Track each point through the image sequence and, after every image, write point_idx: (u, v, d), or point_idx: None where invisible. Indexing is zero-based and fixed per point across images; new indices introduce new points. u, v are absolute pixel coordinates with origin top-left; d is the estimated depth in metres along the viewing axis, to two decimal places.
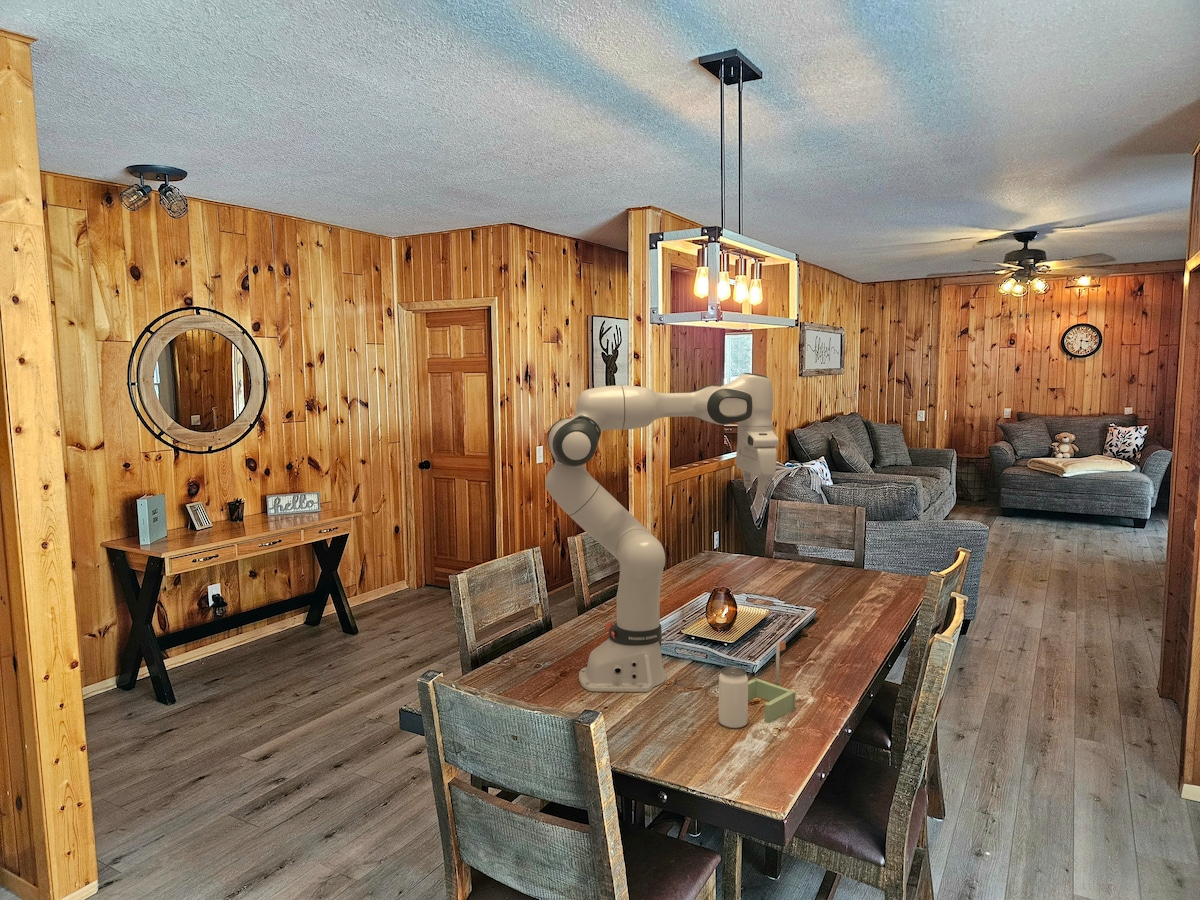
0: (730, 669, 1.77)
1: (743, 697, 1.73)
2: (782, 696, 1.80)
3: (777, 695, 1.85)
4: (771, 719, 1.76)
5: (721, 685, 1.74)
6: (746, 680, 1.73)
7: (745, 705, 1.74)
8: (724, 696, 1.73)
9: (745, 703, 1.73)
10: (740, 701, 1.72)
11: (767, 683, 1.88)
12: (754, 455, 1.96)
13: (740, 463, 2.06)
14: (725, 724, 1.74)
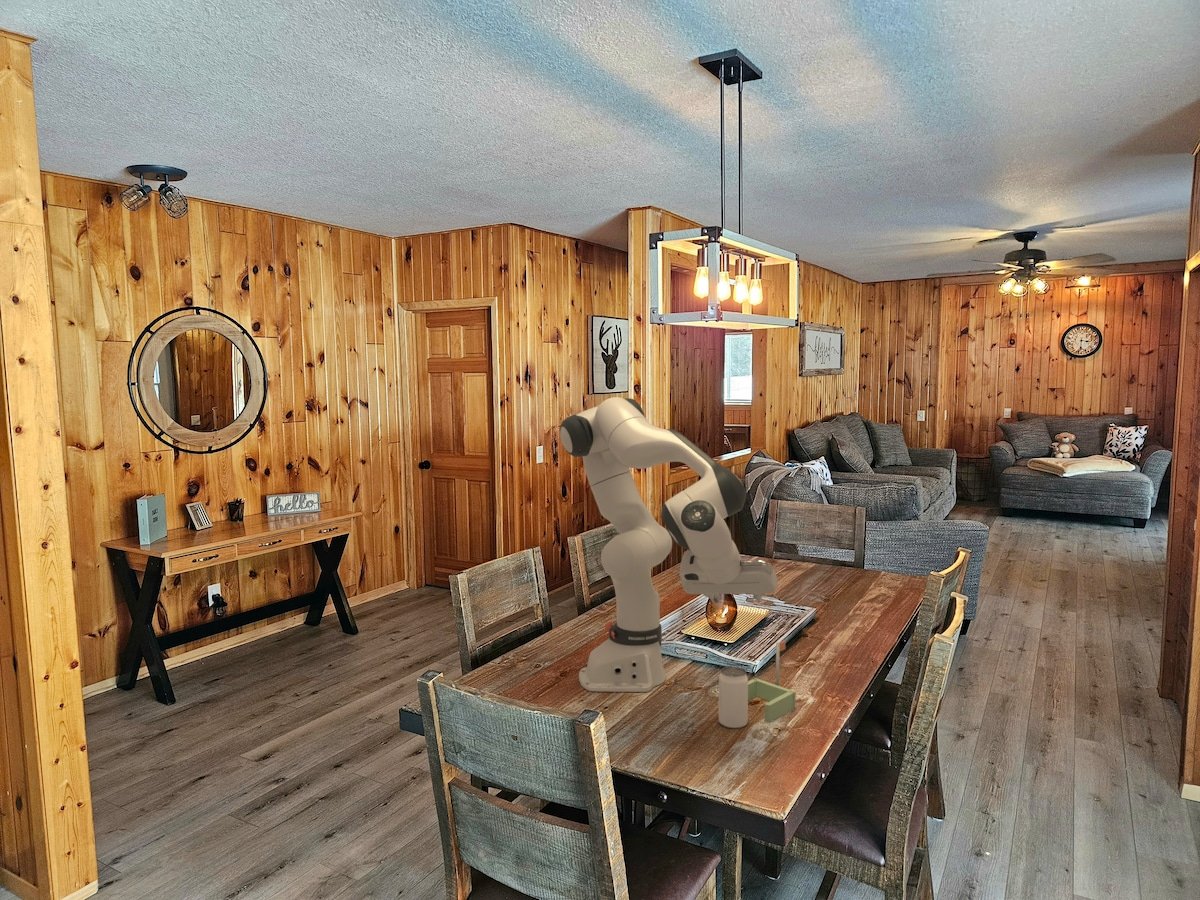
0: (730, 669, 1.77)
1: (743, 697, 1.73)
2: (782, 696, 1.80)
3: (777, 695, 1.85)
4: (771, 719, 1.76)
5: (721, 685, 1.74)
6: (746, 680, 1.73)
7: (745, 705, 1.74)
8: (724, 696, 1.73)
9: (745, 703, 1.73)
10: (740, 701, 1.72)
11: (767, 683, 1.88)
12: None
13: None
14: (725, 724, 1.74)
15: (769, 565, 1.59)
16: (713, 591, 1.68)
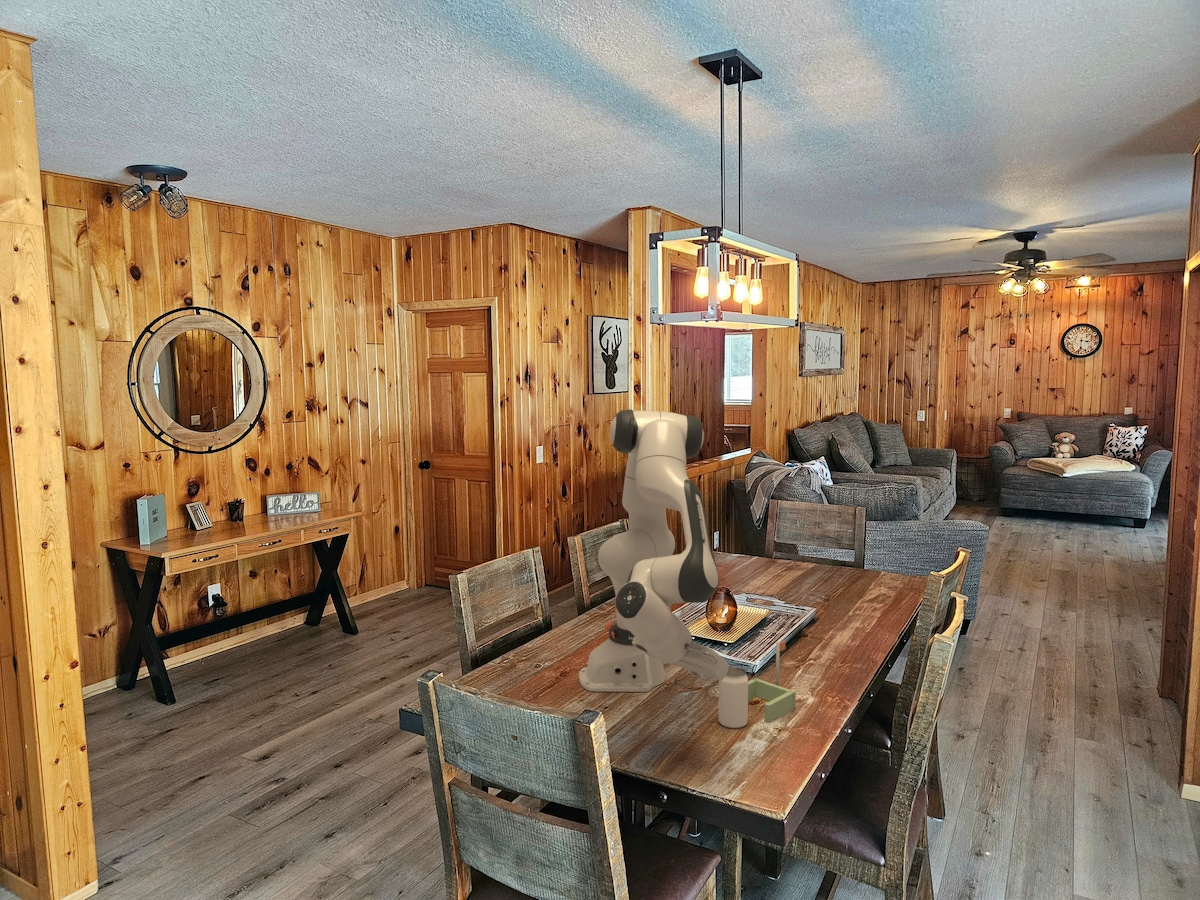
0: (730, 669, 1.77)
1: (743, 697, 1.73)
2: (782, 696, 1.80)
3: (777, 695, 1.85)
4: (771, 719, 1.76)
5: (721, 685, 1.74)
6: (746, 680, 1.73)
7: (745, 705, 1.74)
8: (724, 696, 1.73)
9: (745, 703, 1.73)
10: (740, 701, 1.72)
11: (767, 683, 1.88)
12: None
13: None
14: (725, 724, 1.74)
15: (710, 656, 1.52)
16: (670, 662, 1.64)
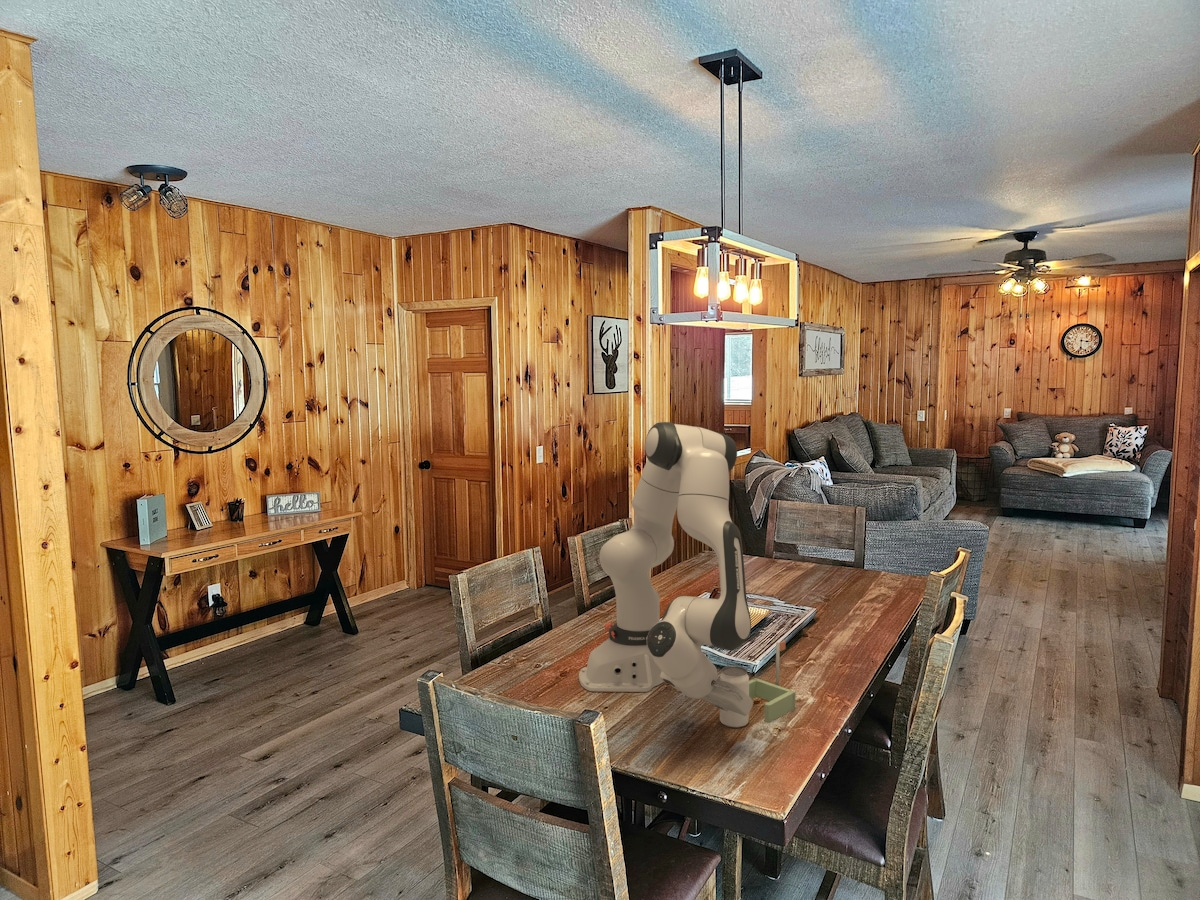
0: (731, 668, 1.77)
1: None
2: (782, 696, 1.80)
3: (777, 695, 1.85)
4: (771, 719, 1.76)
5: None
6: (747, 679, 1.74)
7: None
8: None
9: None
10: None
11: (767, 683, 1.88)
12: None
13: None
14: (726, 723, 1.74)
15: (736, 693, 1.59)
16: None
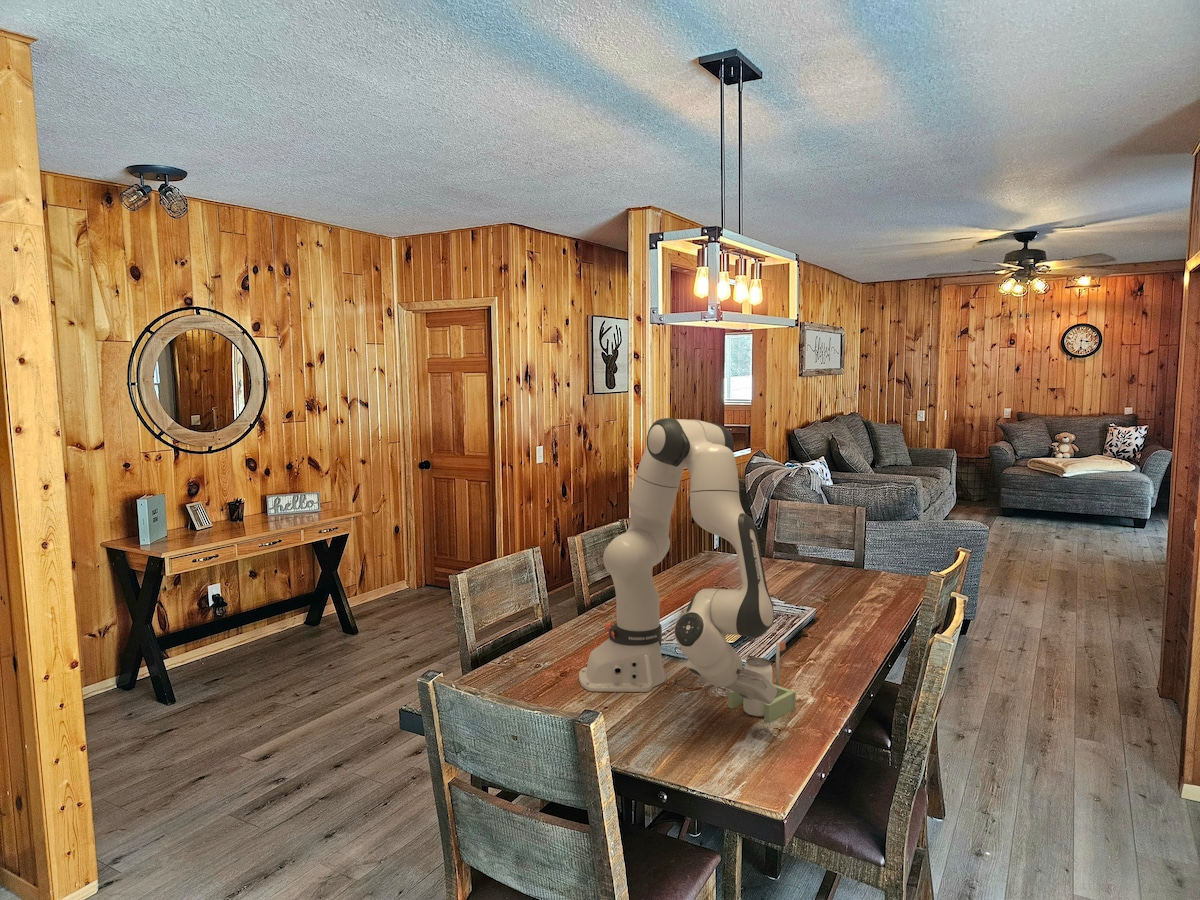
0: (757, 659, 1.82)
1: None
2: (782, 696, 1.80)
3: (777, 695, 1.85)
4: (771, 719, 1.76)
5: None
6: (768, 671, 1.78)
7: None
8: None
9: None
10: None
11: None
12: None
13: None
14: (746, 711, 1.80)
15: (761, 682, 1.65)
16: None
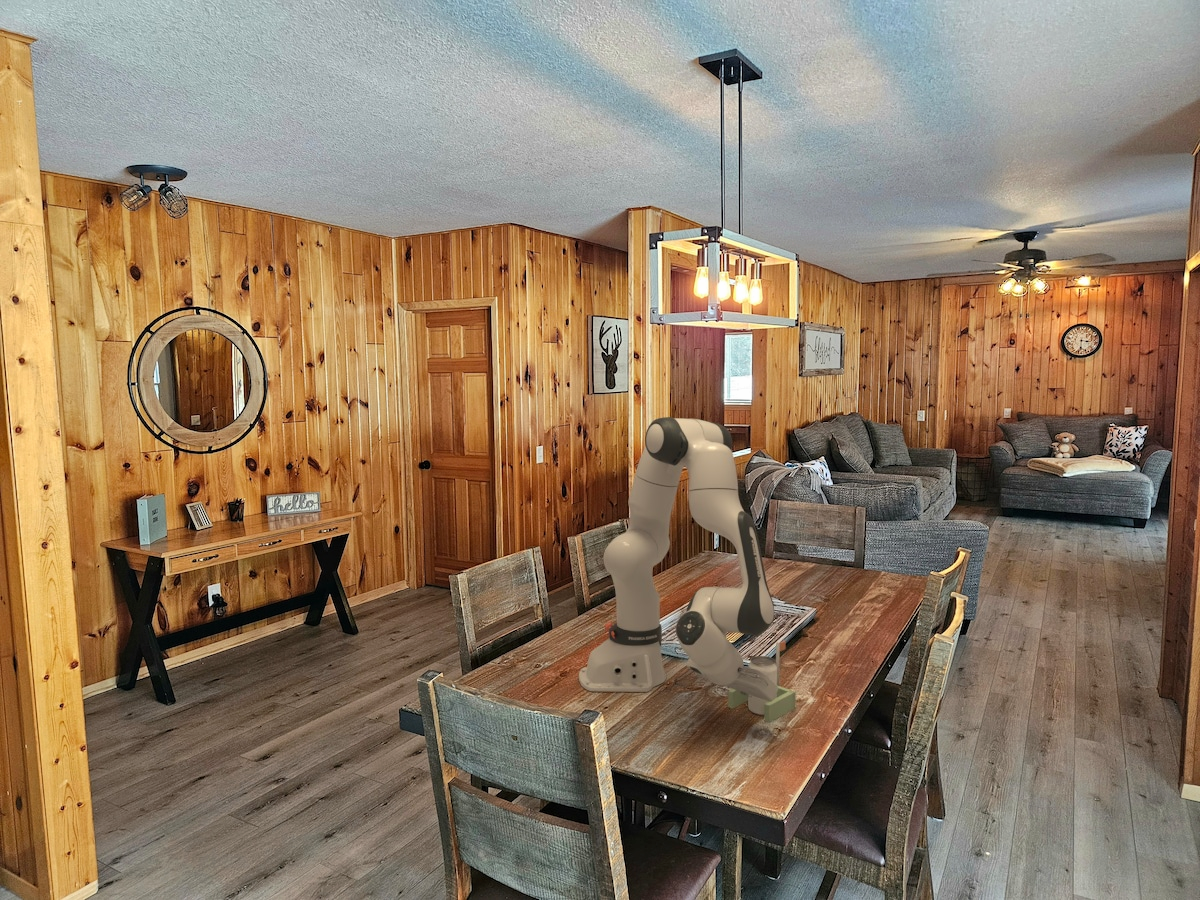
0: (763, 658, 1.83)
1: None
2: (782, 696, 1.80)
3: (777, 695, 1.85)
4: (771, 719, 1.76)
5: None
6: (772, 670, 1.79)
7: None
8: None
9: None
10: None
11: None
12: None
13: None
14: (750, 709, 1.81)
15: (763, 680, 1.65)
16: None
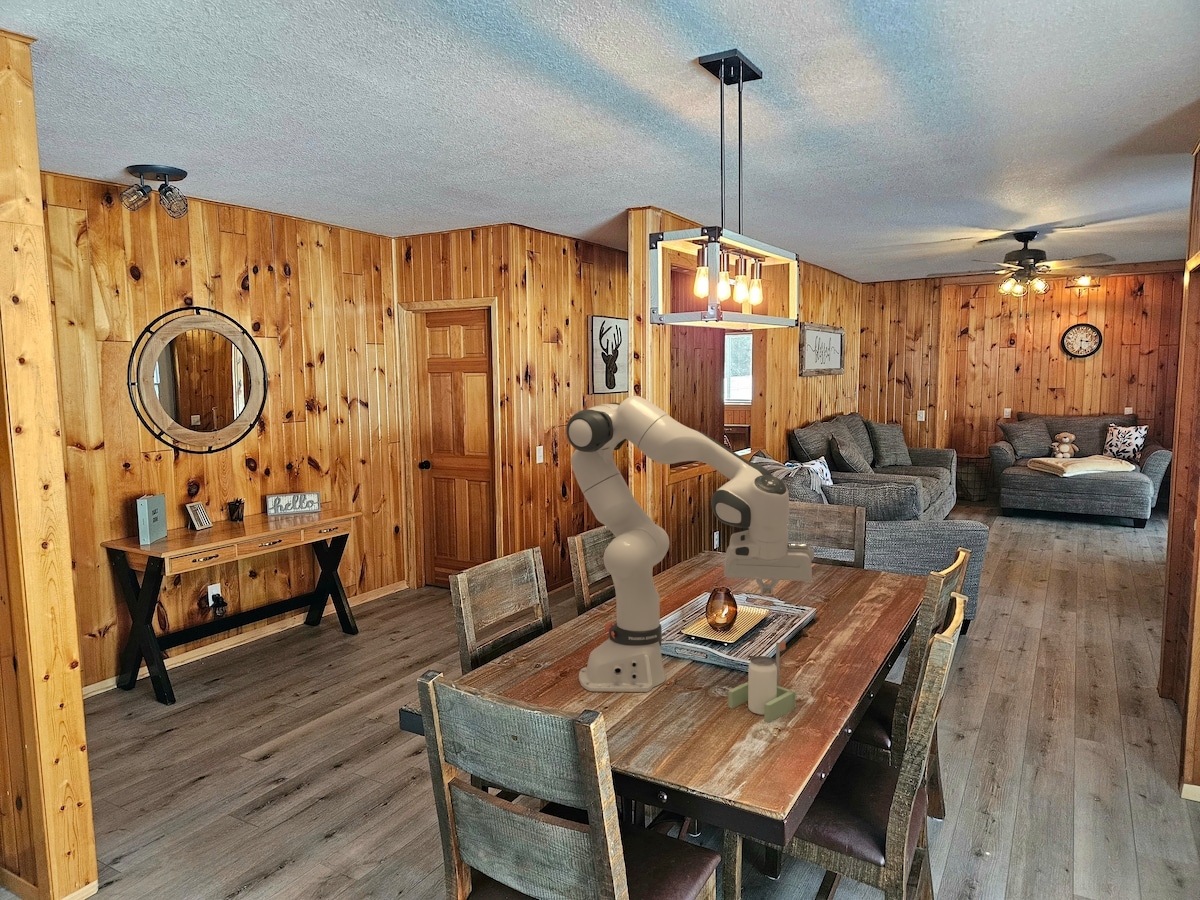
0: (762, 658, 1.83)
1: (768, 686, 1.79)
2: (782, 696, 1.80)
3: (777, 695, 1.85)
4: (771, 719, 1.76)
5: (749, 671, 1.81)
6: (772, 670, 1.79)
7: (771, 695, 1.79)
8: (750, 682, 1.81)
9: (770, 692, 1.79)
10: (764, 689, 1.79)
11: None
12: None
13: None
14: (750, 709, 1.81)
15: (813, 550, 1.79)
16: (752, 575, 1.82)
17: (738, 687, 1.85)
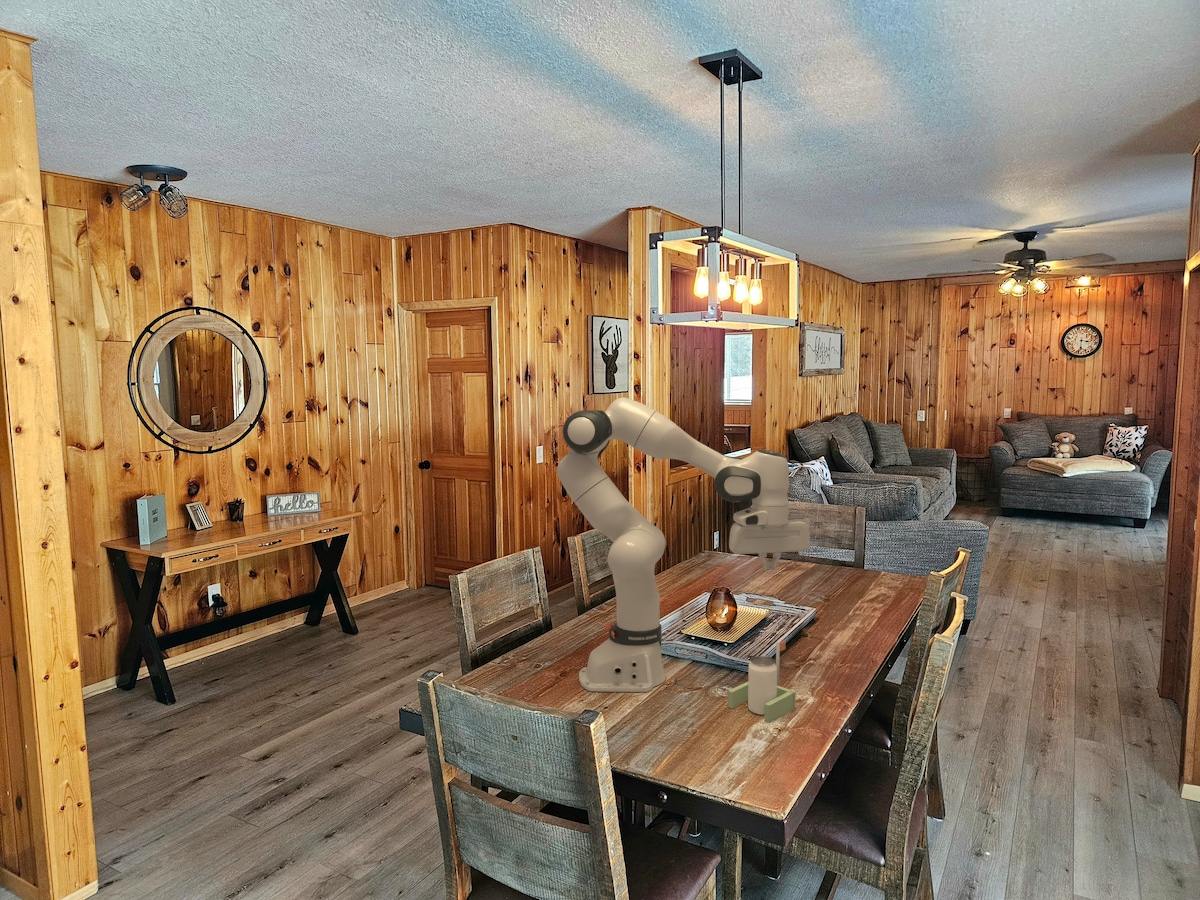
0: (763, 658, 1.83)
1: (768, 686, 1.79)
2: (782, 696, 1.80)
3: (777, 695, 1.85)
4: (771, 719, 1.76)
5: (749, 671, 1.81)
6: (772, 670, 1.79)
7: (771, 695, 1.79)
8: (750, 682, 1.81)
9: (770, 692, 1.79)
10: (764, 689, 1.79)
11: None
12: None
13: None
14: (750, 709, 1.81)
15: (808, 519, 1.96)
16: (758, 548, 1.93)
17: (738, 687, 1.85)
